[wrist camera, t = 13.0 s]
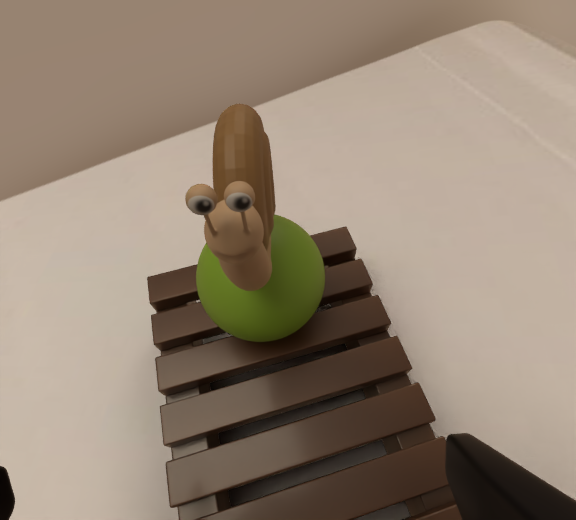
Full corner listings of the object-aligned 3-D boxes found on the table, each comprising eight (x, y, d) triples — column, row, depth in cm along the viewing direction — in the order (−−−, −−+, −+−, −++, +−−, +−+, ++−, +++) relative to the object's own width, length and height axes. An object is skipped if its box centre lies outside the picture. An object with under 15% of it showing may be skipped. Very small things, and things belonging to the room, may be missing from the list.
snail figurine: (208, 385, 16) (50, 213, 6) (212, 261, 20) (116, 15, 9) (331, 375, 16) (381, 187, 6) (315, 252, 20) (329, -1, 9)
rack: (456, 536, 16) (496, 549, 13) (211, 628, 15) (185, 669, 12) (340, 262, 24) (346, 225, 21) (169, 308, 23) (146, 276, 19)
